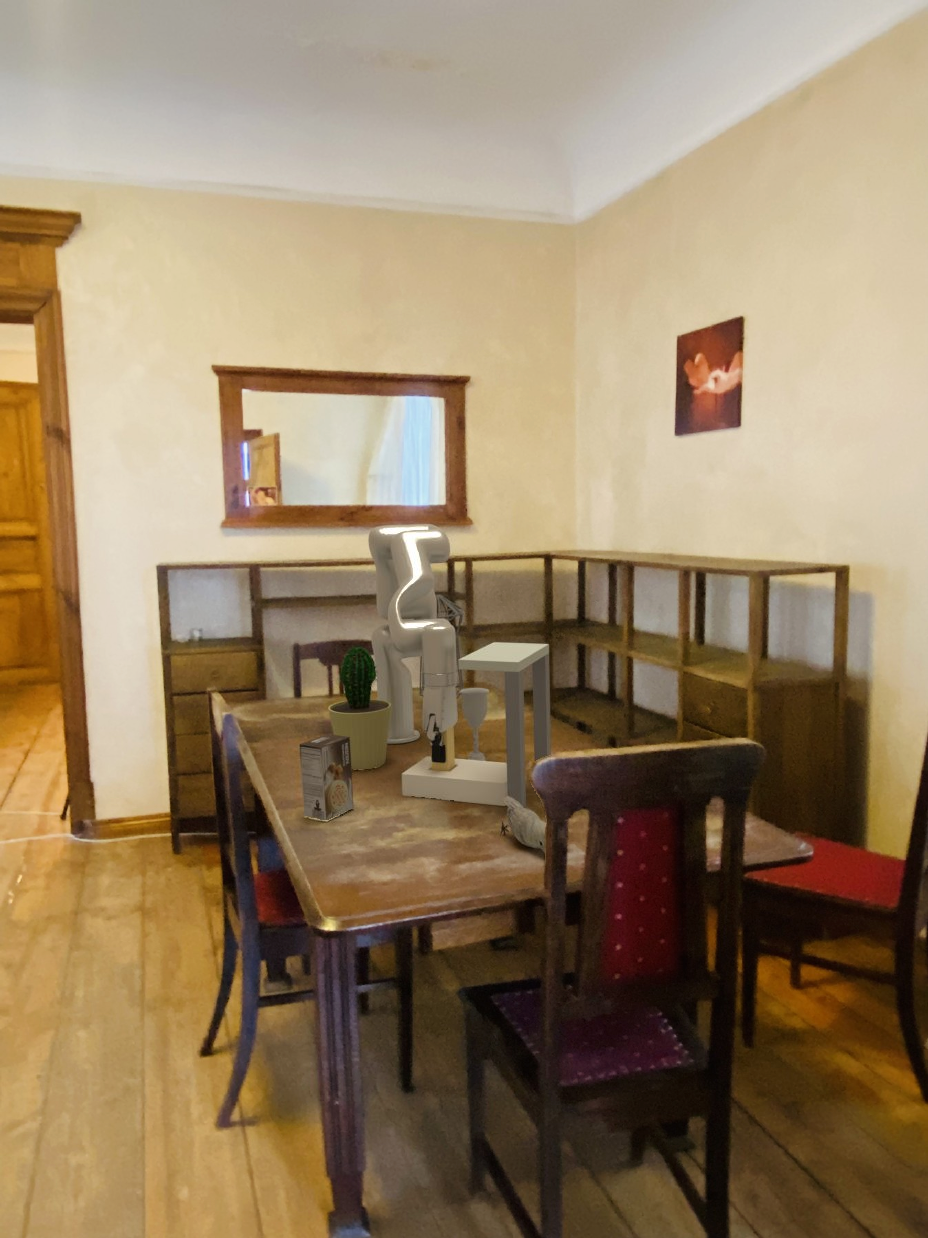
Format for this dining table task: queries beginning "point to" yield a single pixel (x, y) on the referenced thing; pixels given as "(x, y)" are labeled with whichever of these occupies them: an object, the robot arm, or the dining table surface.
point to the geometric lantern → (455, 610)
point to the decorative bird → (524, 824)
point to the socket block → (458, 781)
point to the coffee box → (326, 776)
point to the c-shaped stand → (519, 702)
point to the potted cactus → (361, 711)
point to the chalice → (475, 715)
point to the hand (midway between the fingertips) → (442, 758)
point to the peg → (450, 753)
